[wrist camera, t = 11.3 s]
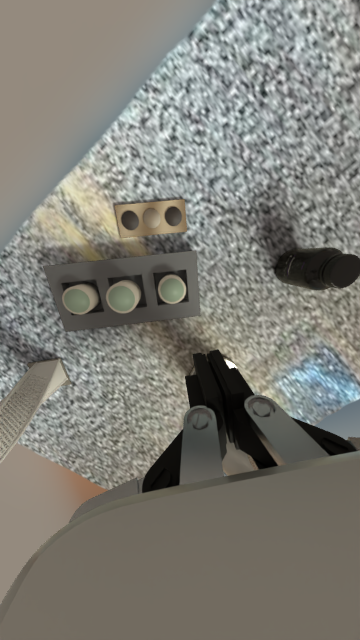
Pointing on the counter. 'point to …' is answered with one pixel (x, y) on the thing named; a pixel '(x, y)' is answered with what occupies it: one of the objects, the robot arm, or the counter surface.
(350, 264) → the supplement bottle
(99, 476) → the counter surface
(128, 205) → the pattern card
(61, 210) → the counter surface
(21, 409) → the skyscraper
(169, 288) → the button
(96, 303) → the button
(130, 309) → the button
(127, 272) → the grey flat block
